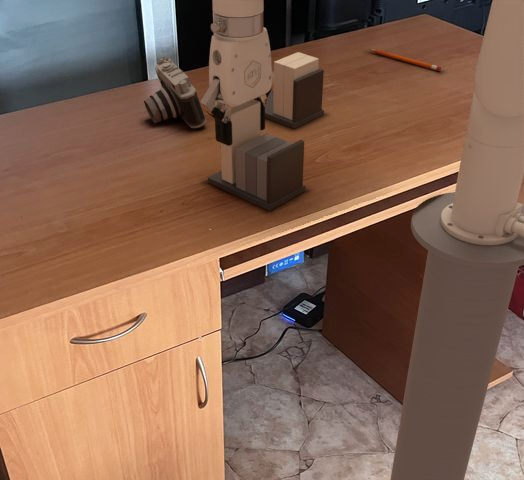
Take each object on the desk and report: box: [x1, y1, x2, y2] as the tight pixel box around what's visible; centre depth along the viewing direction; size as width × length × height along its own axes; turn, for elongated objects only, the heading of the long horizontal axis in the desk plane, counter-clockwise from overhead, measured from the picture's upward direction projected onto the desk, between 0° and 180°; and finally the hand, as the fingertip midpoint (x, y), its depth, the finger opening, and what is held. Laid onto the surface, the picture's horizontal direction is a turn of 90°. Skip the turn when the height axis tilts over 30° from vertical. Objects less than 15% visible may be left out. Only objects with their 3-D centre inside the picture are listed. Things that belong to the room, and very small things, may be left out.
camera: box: [143, 56, 207, 129], centre depth 150 cm, size 16×9×10 cm, turn 25°
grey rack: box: [207, 132, 306, 212], centre depth 129 cm, size 14×9×9 cm, turn 48°
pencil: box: [368, 48, 442, 72], centre depth 176 cm, size 1×19×1 cm, turn 50°
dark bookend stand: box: [265, 51, 325, 130], centre depth 152 cm, size 14×9×11 cm, turn 48°
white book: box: [220, 99, 262, 184], centre depth 129 cm, size 2×7×12 cm, turn 138°
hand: (240, 134), depth 128 cm, fingers closed on white book, 7 cm apart
